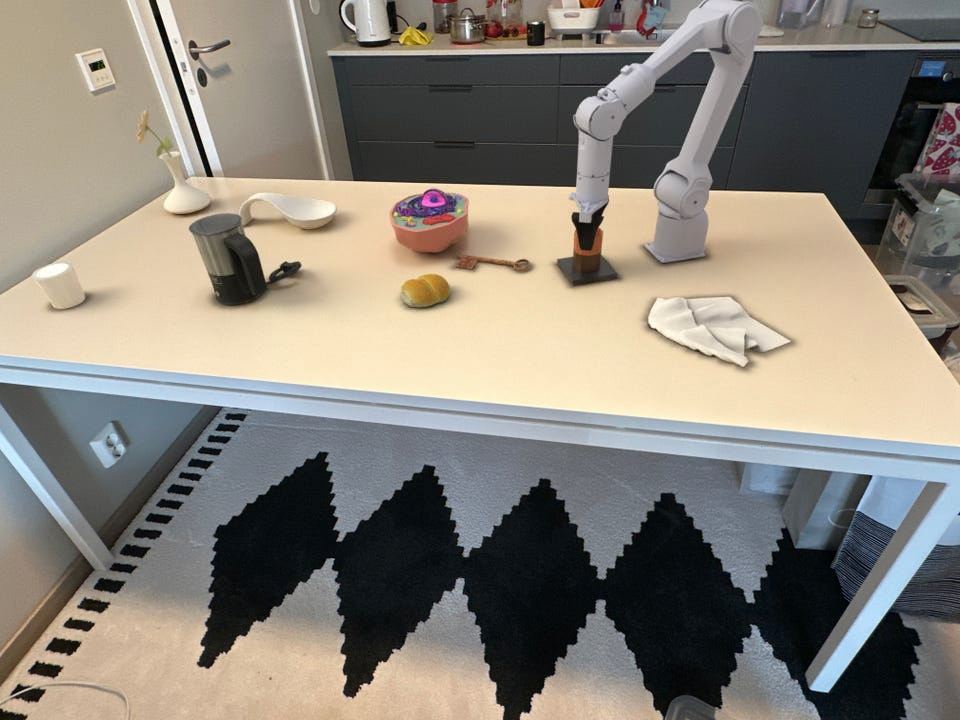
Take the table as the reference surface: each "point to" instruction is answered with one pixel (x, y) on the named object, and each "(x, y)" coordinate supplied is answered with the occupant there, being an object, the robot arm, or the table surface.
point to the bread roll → (425, 290)
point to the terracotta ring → (596, 246)
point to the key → (472, 261)
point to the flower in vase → (176, 177)
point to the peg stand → (583, 277)
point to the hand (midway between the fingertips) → (588, 242)
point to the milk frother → (233, 259)
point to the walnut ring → (586, 262)
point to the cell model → (430, 220)
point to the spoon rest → (293, 209)
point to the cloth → (713, 327)
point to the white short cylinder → (59, 284)
